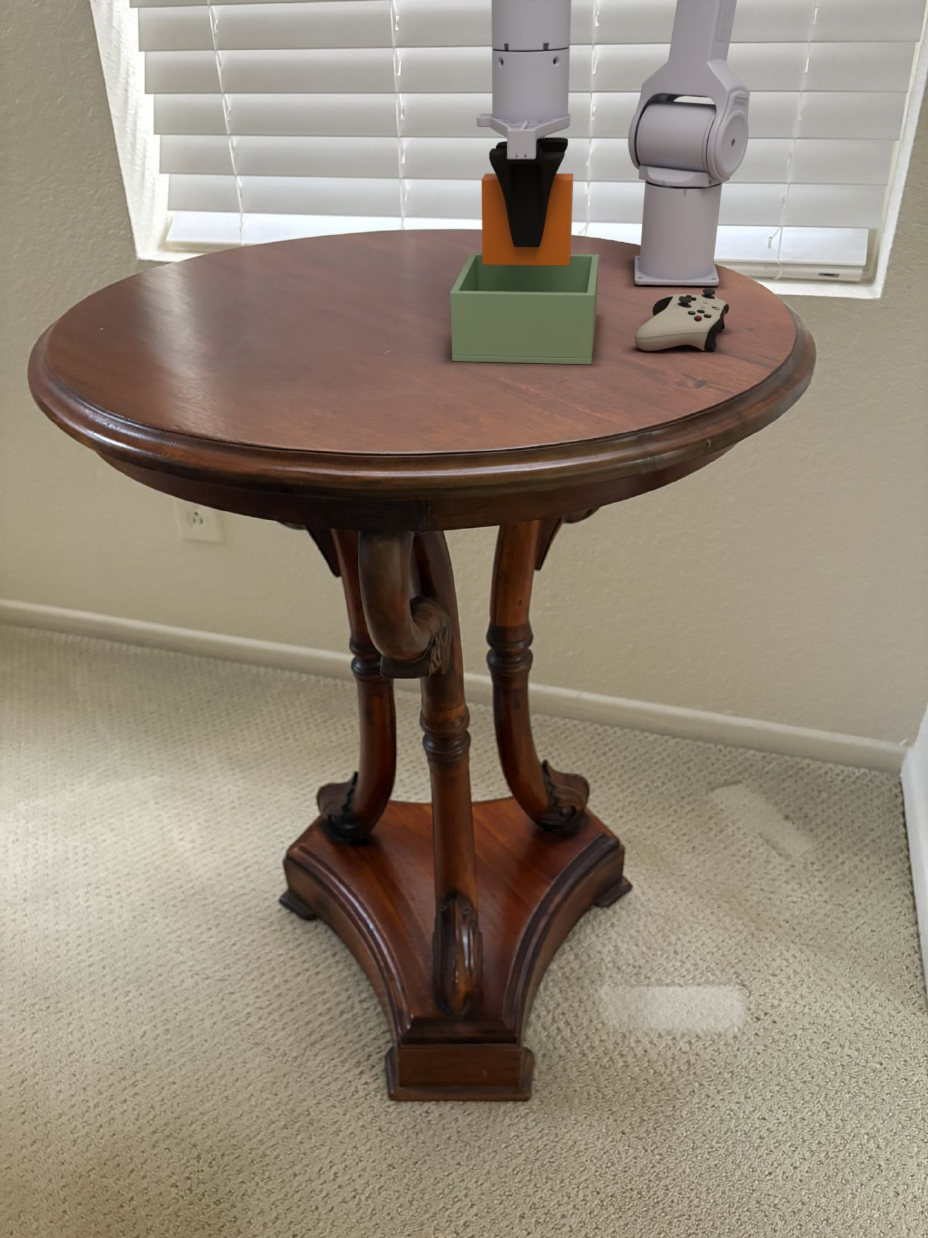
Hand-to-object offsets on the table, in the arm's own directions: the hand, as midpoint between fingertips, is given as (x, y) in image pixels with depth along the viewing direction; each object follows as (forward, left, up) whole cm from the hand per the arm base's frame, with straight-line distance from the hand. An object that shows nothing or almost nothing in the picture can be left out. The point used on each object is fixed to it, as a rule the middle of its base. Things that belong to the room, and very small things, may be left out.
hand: (528, 241), depth 81 cm
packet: (0, 0, -2) cm, 2 cm away
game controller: (-1, +13, -8) cm, 15 cm away
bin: (0, 0, -8) cm, 8 cm away
